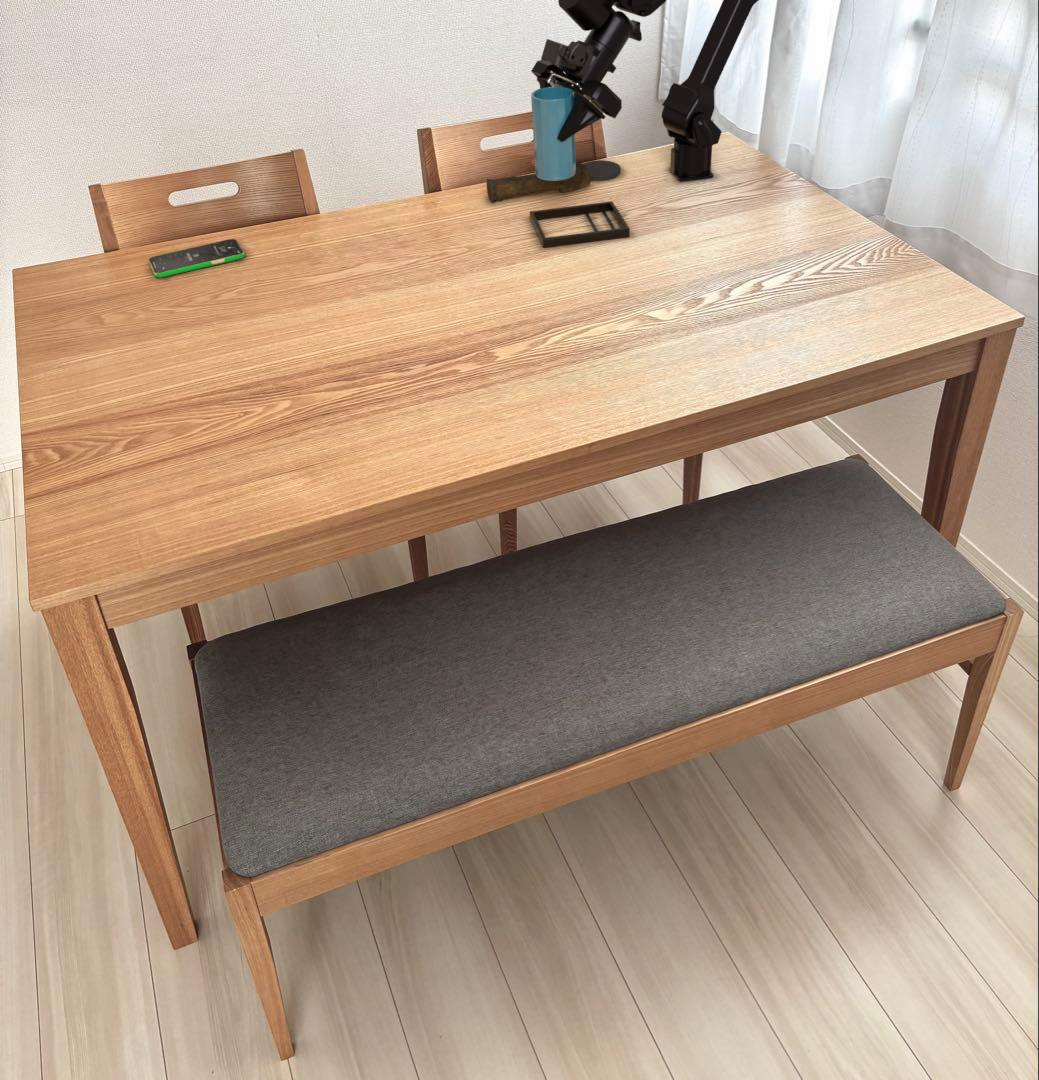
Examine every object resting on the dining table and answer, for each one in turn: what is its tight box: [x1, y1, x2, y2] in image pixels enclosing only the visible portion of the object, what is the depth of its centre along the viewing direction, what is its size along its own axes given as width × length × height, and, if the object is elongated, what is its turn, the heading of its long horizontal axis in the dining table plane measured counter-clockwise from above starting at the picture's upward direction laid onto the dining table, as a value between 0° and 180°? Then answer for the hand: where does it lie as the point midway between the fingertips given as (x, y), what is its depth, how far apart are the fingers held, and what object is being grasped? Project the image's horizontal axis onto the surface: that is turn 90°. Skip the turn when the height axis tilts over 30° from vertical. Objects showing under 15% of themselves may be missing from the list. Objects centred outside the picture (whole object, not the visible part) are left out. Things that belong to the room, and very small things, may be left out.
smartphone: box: [148, 238, 246, 279], centre depth 175 cm, size 8×1×15 cm
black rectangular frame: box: [529, 201, 630, 249], centre depth 177 cm, size 15×12×2 cm
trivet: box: [583, 159, 622, 182], centre depth 195 cm, size 8×8×1 cm
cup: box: [530, 86, 577, 181], centre depth 172 cm, size 7×7×13 cm
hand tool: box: [486, 162, 591, 203], centre depth 188 cm, size 19×4×5 cm, turn 101°
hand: (546, 134), depth 172 cm, fingers closed on cup, 7 cm apart
